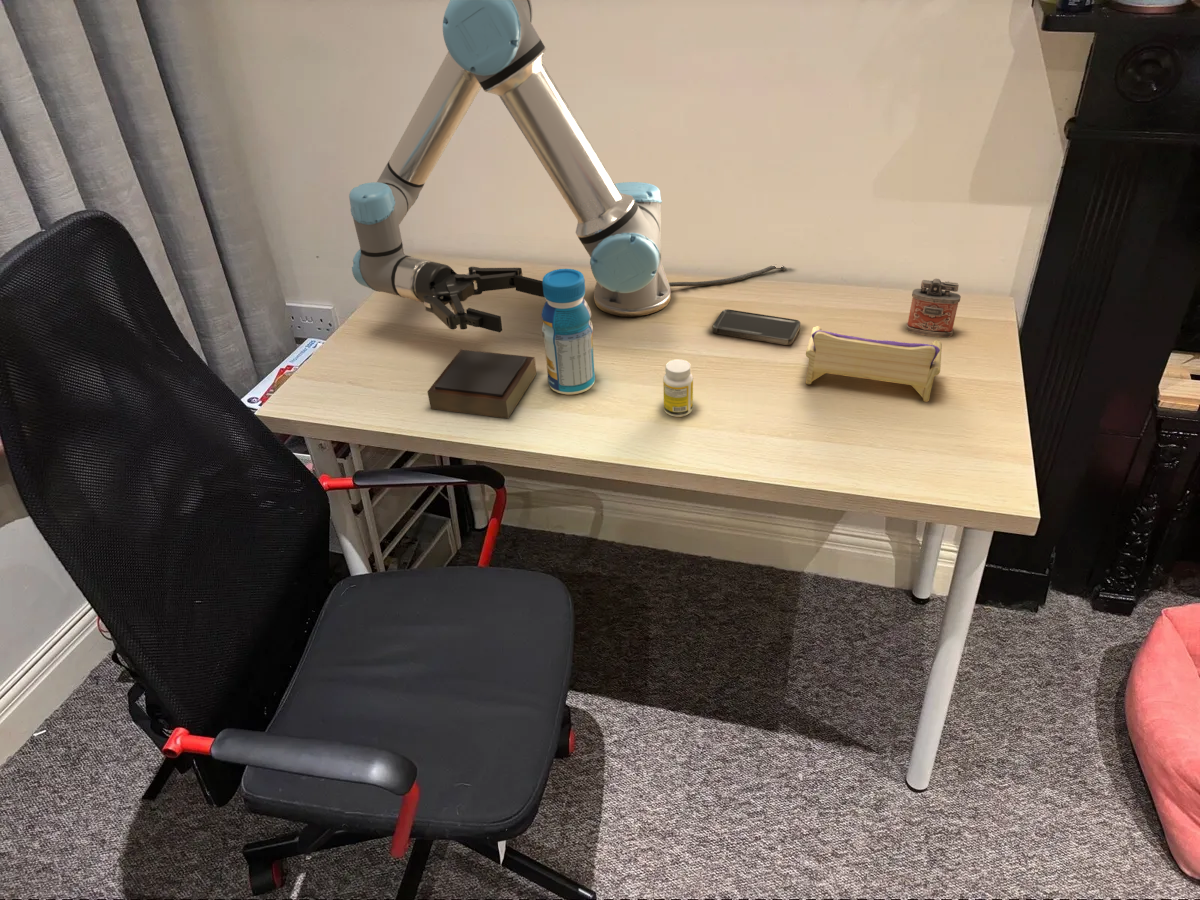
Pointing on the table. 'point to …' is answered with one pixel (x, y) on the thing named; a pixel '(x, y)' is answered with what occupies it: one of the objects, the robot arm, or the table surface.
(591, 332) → the beverage bottle
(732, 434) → the table surface
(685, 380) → the supplement bottle
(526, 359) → the walnut stand
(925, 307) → the lighter
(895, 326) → the table surface
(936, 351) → the toy sofa
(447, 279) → the robot arm
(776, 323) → the phone
